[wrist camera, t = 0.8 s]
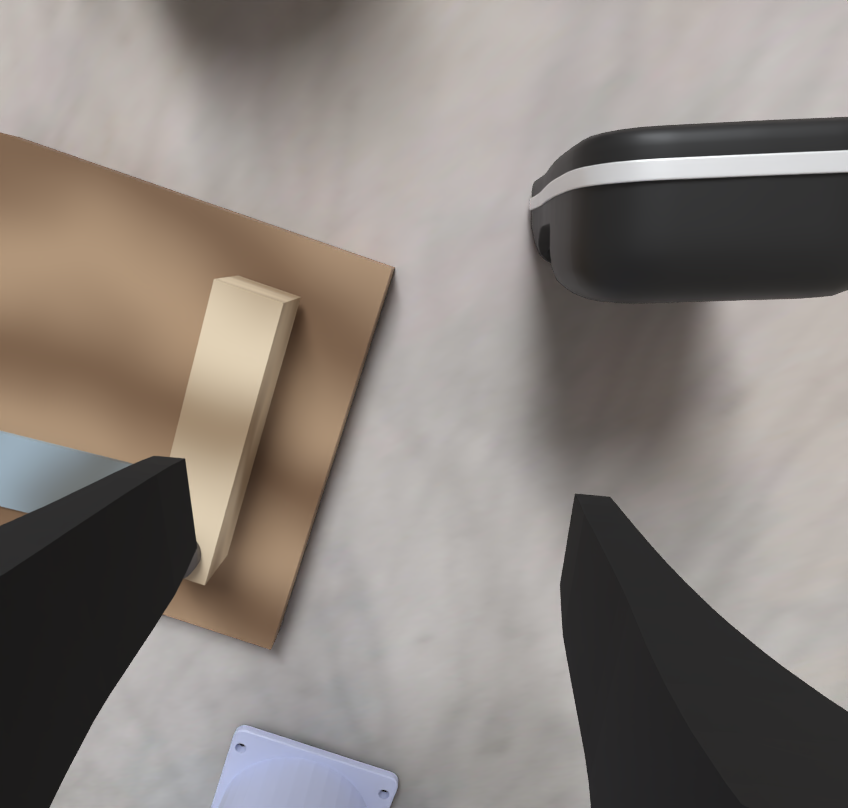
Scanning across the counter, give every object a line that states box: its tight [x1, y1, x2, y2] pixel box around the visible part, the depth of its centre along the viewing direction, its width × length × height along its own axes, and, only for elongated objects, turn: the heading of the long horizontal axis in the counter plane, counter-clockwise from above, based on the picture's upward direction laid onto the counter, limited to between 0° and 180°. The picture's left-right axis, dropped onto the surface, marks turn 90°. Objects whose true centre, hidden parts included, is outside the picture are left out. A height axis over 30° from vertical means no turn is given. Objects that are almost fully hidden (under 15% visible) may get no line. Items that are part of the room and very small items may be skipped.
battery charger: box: [530, 117, 848, 303], centre depth 18 cm, size 7×4×11 cm, turn 92°
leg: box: [170, 276, 301, 585], centre depth 23 cm, size 11×2×3 cm, turn 161°
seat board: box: [0, 133, 395, 650], centre depth 26 cm, size 17×15×2 cm
